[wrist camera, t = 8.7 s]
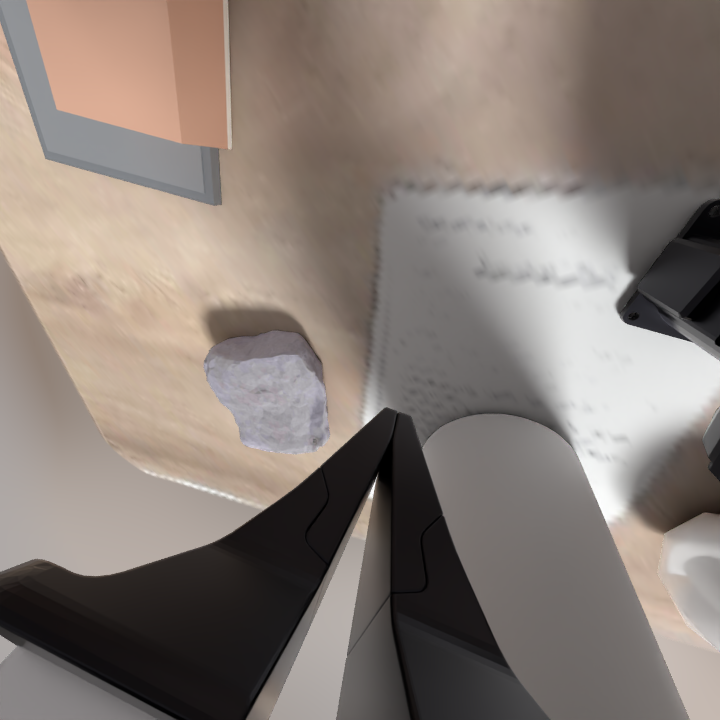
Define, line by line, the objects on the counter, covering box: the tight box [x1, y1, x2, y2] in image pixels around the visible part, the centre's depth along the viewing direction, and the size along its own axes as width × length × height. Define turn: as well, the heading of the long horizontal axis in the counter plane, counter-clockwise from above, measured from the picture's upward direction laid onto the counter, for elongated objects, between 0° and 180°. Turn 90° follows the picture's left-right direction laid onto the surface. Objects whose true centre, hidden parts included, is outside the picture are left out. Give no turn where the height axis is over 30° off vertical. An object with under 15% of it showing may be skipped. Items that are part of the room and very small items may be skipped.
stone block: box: [204, 330, 330, 454], centre depth 27 cm, size 12×5×10 cm
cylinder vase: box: [422, 414, 690, 720], centre depth 16 cm, size 12×12×25 cm
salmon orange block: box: [26, 0, 232, 150], centre depth 14 cm, size 4×9×8 cm
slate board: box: [0, 0, 222, 206], centre depth 17 cm, size 14×16×1 cm
